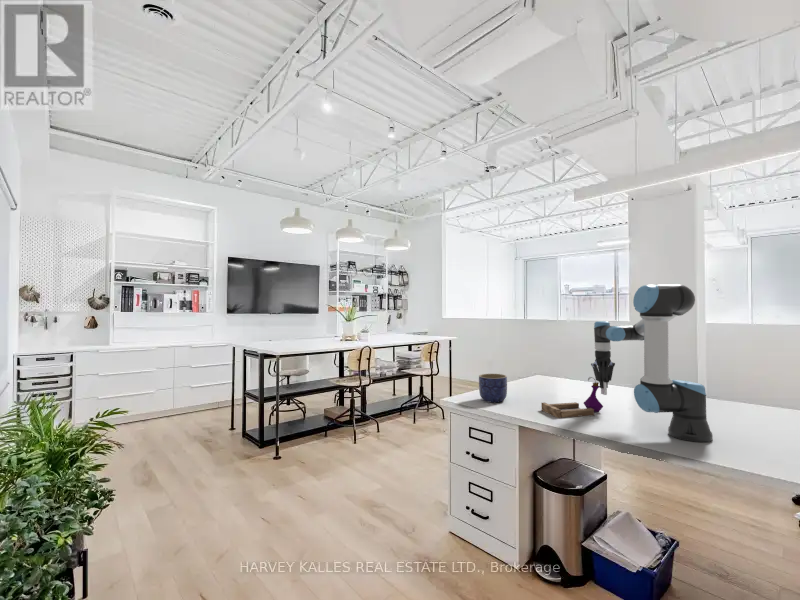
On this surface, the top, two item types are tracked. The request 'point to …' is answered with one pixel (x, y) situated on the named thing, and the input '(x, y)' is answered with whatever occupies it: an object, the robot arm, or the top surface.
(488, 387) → the planter
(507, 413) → the top surface
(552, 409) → the u rest
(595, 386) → the purple potion bottle
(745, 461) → the top surface
